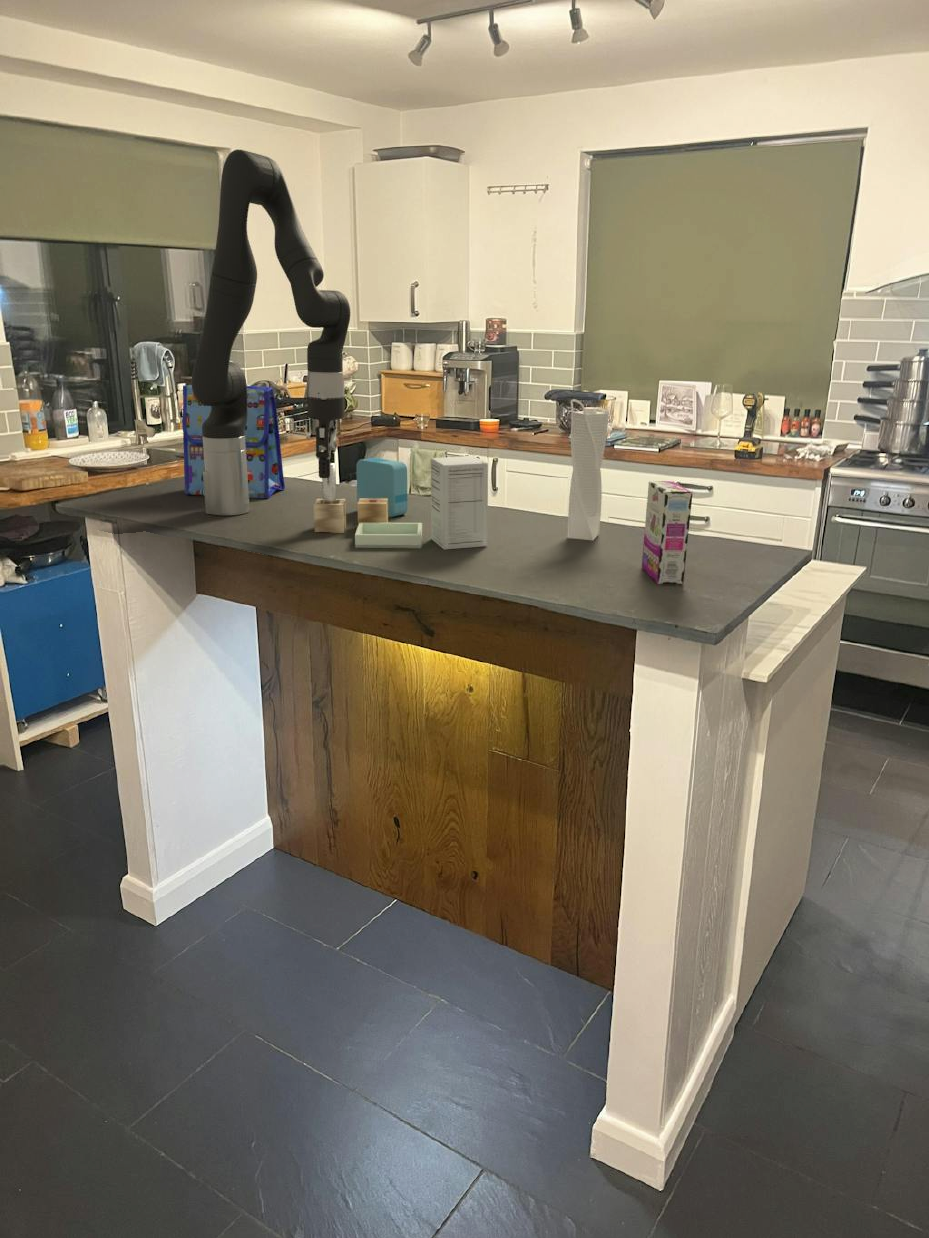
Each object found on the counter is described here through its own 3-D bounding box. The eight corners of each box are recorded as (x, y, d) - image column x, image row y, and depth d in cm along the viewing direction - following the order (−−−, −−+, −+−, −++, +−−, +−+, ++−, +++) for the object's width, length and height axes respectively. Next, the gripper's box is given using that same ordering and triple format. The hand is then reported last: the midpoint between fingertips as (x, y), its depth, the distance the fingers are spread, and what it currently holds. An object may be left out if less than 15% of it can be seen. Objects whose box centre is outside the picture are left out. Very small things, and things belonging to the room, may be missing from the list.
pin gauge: (323, 530, 198) (321, 464, 193) (324, 527, 200) (322, 462, 196) (336, 531, 198) (334, 464, 193) (338, 528, 200) (336, 462, 196)
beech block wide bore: (314, 532, 196) (313, 504, 194) (318, 526, 202) (317, 498, 200) (343, 533, 196) (342, 504, 194) (346, 526, 202) (345, 499, 200)
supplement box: (473, 536, 195) (474, 455, 189) (488, 546, 186) (490, 462, 181) (429, 539, 192) (429, 457, 186) (442, 550, 184) (443, 464, 178)
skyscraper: (559, 538, 194) (565, 400, 185) (568, 530, 200) (574, 397, 191) (597, 542, 191) (605, 402, 182) (604, 534, 198) (613, 399, 189)
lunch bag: (184, 496, 231) (173, 376, 222) (206, 486, 244) (197, 372, 234) (269, 499, 228) (262, 378, 219) (286, 489, 241) (280, 373, 232)
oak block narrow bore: (358, 531, 197) (357, 503, 195) (360, 525, 203) (359, 498, 201) (386, 532, 197) (386, 504, 195) (388, 525, 203) (387, 498, 201)
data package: (408, 515, 213) (407, 462, 209) (394, 518, 210) (393, 465, 206) (370, 507, 220) (369, 456, 217) (356, 510, 217) (355, 459, 213)
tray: (355, 547, 184) (354, 535, 183) (359, 534, 195) (359, 522, 194) (421, 548, 185) (421, 535, 184) (422, 535, 195) (422, 522, 194)
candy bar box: (685, 585, 162) (694, 492, 157) (657, 585, 162) (665, 492, 157) (667, 568, 173) (674, 480, 168) (640, 568, 173) (647, 480, 167)
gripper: (311, 390, 196) (313, 467, 201) (301, 397, 183) (303, 480, 188) (347, 391, 196) (348, 468, 202) (340, 398, 183) (341, 481, 188)
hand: (326, 474), depth 195 cm, fingers open, 8 cm apart
